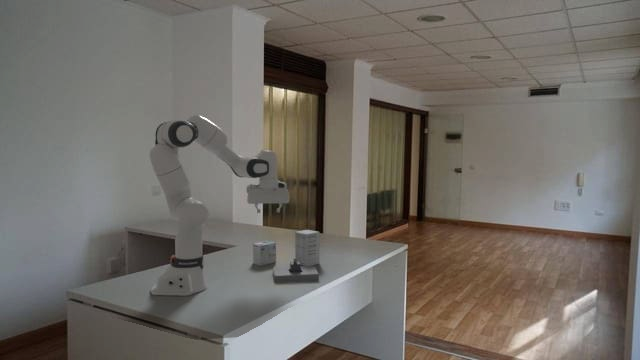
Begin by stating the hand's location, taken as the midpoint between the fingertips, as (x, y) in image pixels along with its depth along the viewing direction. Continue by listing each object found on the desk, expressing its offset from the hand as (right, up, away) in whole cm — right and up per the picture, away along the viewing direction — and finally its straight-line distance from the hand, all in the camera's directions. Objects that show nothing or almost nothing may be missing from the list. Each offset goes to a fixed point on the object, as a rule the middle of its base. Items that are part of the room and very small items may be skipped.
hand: (268, 212), depth 214 cm
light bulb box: (-4, -28, +18) cm, 33 cm away
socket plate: (+13, -30, -5) cm, 33 cm away
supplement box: (+18, -28, +18) cm, 38 cm away
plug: (+13, -29, -5) cm, 32 cm away
